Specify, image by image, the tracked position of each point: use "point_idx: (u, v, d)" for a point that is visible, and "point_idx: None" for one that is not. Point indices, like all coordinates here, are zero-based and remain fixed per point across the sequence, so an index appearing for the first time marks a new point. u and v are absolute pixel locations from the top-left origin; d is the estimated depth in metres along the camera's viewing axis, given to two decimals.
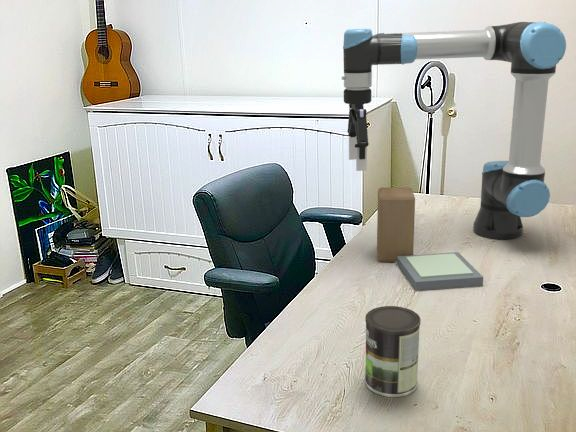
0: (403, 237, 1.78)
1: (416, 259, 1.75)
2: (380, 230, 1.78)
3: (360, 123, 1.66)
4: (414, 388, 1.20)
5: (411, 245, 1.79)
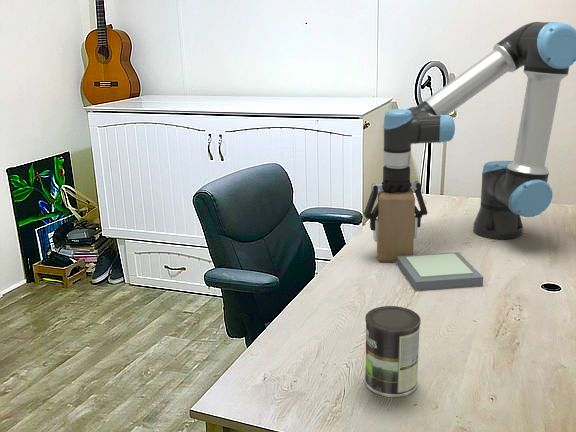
0: (403, 237, 1.78)
1: (416, 259, 1.75)
2: (380, 230, 1.78)
3: (370, 197, 1.79)
4: (414, 388, 1.20)
5: (411, 245, 1.79)
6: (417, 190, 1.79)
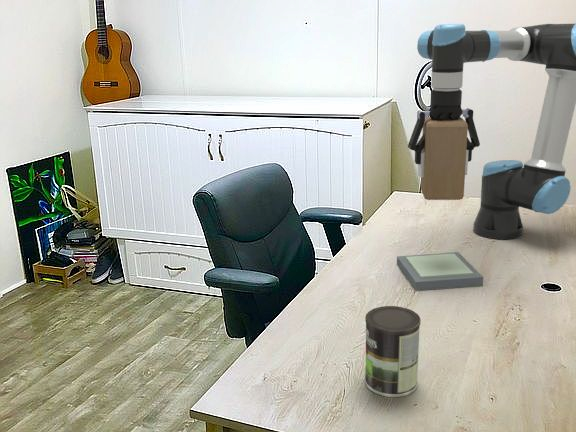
0: (453, 171, 1.58)
1: (416, 259, 1.75)
2: (427, 163, 1.58)
3: (416, 125, 1.59)
4: (414, 388, 1.20)
5: (462, 180, 1.58)
6: (469, 118, 1.58)
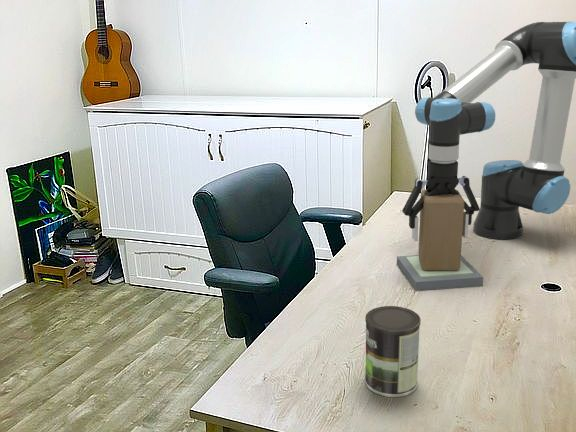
0: (450, 244, 1.64)
1: (416, 259, 1.75)
2: (425, 236, 1.64)
3: (412, 192, 1.64)
4: (414, 388, 1.20)
5: (459, 252, 1.64)
6: (466, 186, 1.64)
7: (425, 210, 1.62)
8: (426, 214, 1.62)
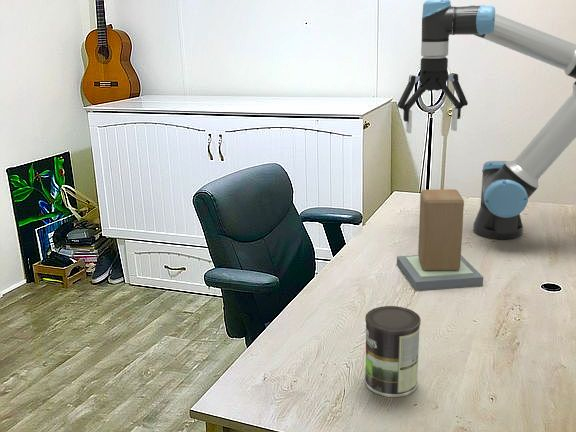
0: (450, 244, 1.64)
1: (416, 259, 1.75)
2: (425, 236, 1.64)
3: (406, 87, 1.81)
4: (414, 388, 1.20)
5: (459, 252, 1.64)
6: (455, 81, 1.80)
7: (425, 210, 1.62)
8: (426, 214, 1.62)
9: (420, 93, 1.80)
